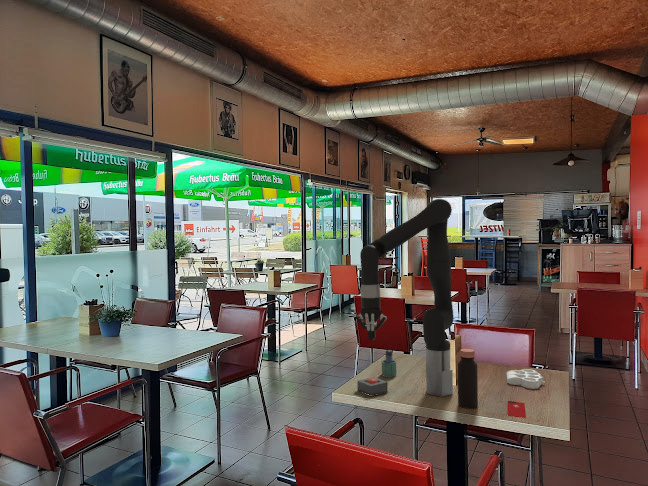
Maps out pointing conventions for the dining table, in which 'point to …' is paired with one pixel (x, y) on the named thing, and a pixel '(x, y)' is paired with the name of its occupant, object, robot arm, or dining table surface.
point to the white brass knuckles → (525, 378)
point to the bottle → (467, 380)
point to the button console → (372, 386)
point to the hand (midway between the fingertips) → (371, 339)
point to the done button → (372, 380)
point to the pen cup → (389, 368)
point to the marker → (388, 356)
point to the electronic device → (516, 409)
